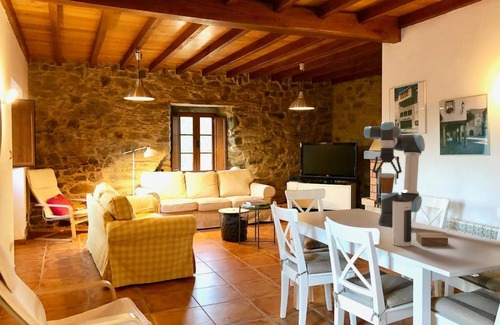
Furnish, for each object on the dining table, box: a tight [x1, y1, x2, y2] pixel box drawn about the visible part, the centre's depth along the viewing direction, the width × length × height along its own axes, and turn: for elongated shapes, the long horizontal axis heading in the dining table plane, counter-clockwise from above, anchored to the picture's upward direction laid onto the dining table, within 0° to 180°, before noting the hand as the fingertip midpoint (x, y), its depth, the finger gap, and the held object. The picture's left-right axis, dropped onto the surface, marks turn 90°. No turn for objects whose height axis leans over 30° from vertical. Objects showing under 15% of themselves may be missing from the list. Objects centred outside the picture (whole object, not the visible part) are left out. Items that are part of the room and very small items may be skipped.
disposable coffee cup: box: [379, 172, 395, 194], centre depth 251 cm, size 10×10×12 cm
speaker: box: [392, 199, 412, 248], centre depth 236 cm, size 11×10×26 cm
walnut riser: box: [415, 231, 449, 248], centre depth 239 cm, size 14×14×5 cm
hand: (386, 184), depth 251 cm, fingers closed on disposable coffee cup, 9 cm apart
